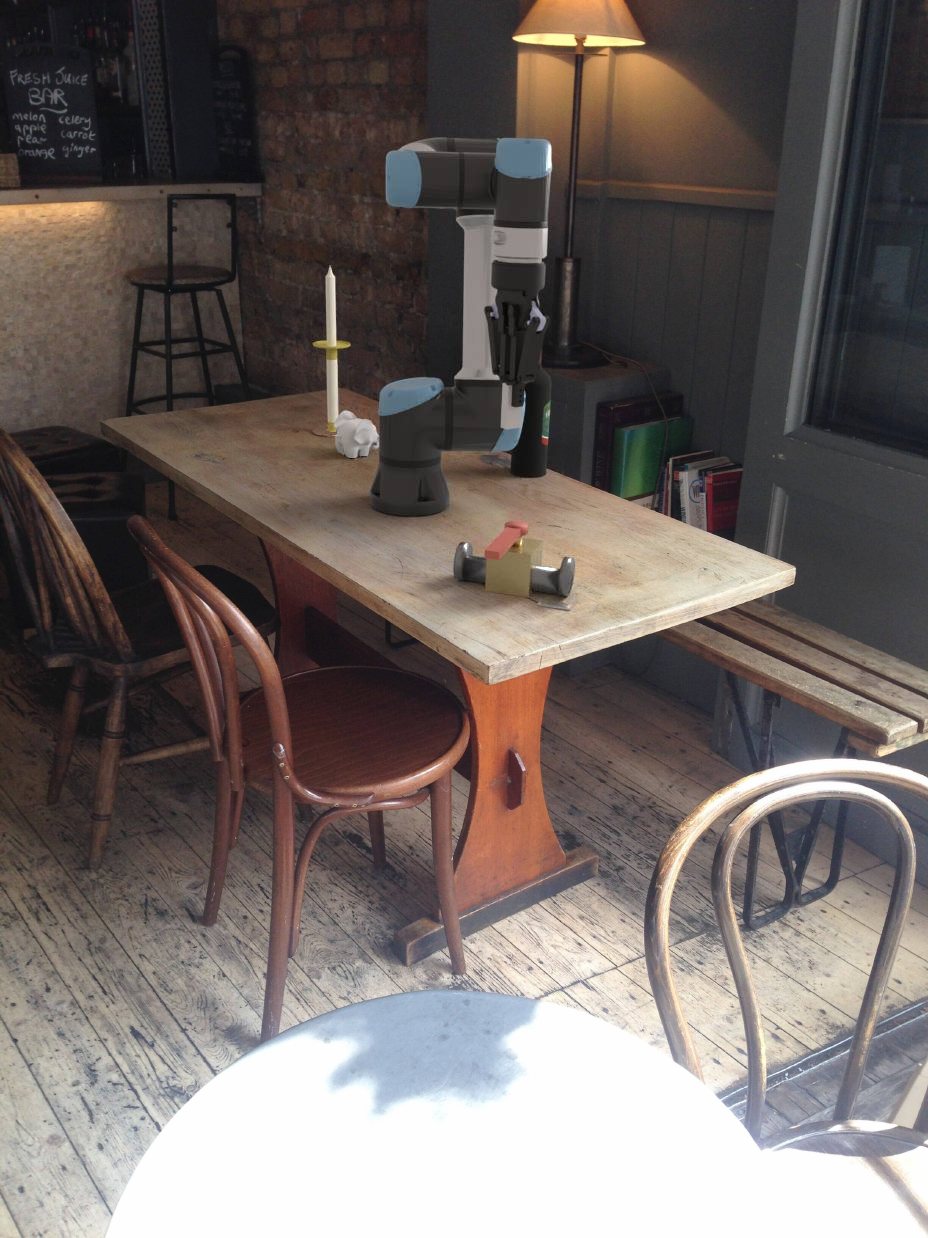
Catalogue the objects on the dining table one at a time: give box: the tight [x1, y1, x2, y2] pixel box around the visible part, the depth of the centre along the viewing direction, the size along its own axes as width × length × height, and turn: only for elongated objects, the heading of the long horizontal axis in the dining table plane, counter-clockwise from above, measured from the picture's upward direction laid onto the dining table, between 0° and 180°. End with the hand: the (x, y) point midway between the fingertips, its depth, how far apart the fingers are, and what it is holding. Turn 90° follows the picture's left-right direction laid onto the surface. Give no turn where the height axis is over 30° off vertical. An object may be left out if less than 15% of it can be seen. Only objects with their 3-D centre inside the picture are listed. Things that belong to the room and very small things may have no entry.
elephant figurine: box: [333, 410, 379, 459], centre depth 237 cm, size 10×12×9 cm
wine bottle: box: [510, 349, 553, 479], centre depth 224 cm, size 8×8×30 cm
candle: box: [312, 266, 351, 432], centre depth 248 cm, size 10×10×38 cm
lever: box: [483, 520, 529, 560], centre depth 163 cm, size 14×4×1 cm, turn 161°
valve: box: [452, 536, 576, 611], centre depth 169 cm, size 20×9×9 cm, turn 71°
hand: (511, 427), depth 161 cm, fingers closed
